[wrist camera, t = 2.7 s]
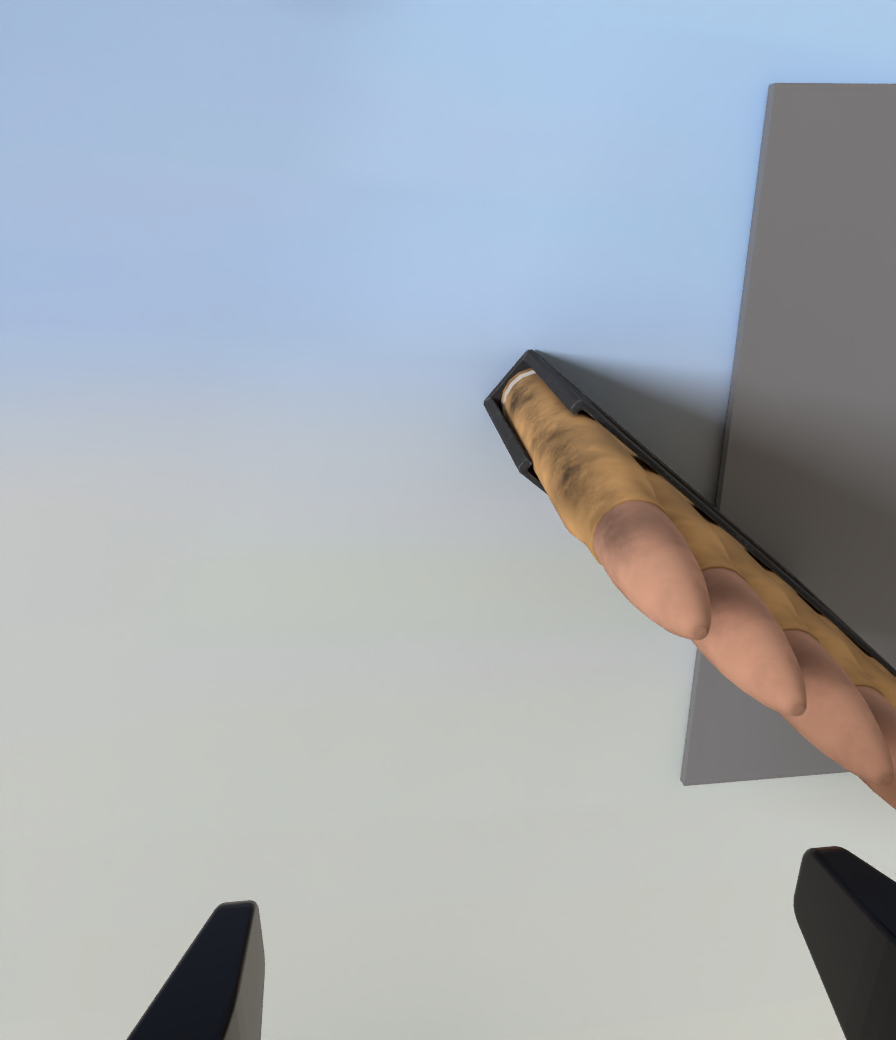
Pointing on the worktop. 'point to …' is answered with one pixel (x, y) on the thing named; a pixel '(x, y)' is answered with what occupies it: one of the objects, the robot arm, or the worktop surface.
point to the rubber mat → (811, 400)
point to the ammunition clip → (700, 572)
